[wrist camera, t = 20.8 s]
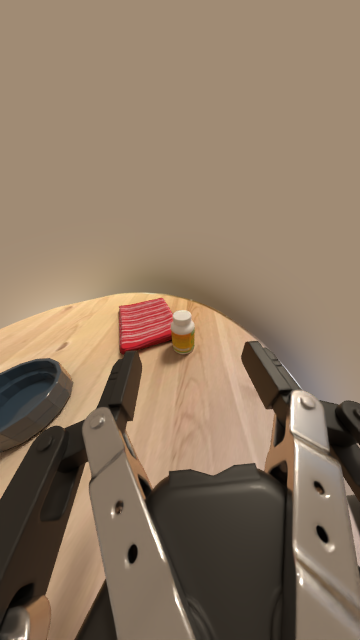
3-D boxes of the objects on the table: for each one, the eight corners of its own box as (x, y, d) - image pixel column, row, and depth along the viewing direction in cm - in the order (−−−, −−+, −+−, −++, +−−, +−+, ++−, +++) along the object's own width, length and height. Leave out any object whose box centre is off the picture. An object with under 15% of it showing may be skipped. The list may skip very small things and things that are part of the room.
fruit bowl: (78, 364, 33) (67, 350, 30) (66, 427, 23) (47, 414, 20) (5, 388, 29) (-16, 374, 26) (-49, 476, 19) (-94, 469, 16)
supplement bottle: (195, 354, 33) (195, 321, 27) (172, 355, 33) (168, 322, 28) (193, 339, 38) (193, 307, 32) (173, 339, 38) (170, 308, 32)
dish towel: (120, 358, 33) (117, 350, 32) (119, 310, 52) (116, 304, 50) (186, 338, 38) (186, 331, 36) (163, 301, 56) (163, 295, 54)
